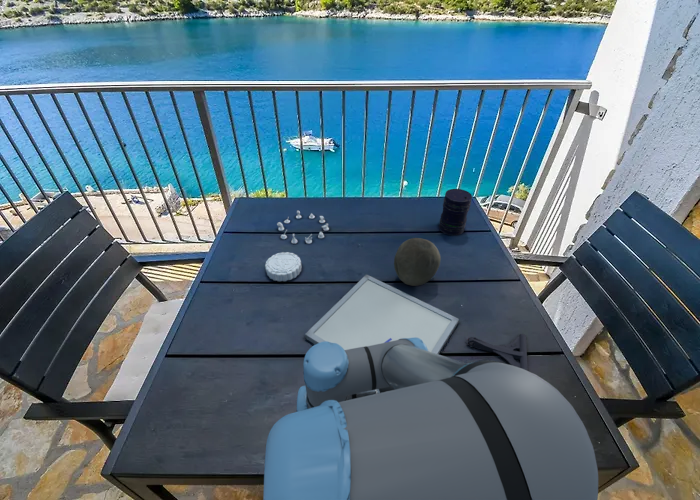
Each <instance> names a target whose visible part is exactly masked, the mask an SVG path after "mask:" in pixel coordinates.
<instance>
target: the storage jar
mask: <svg viewBox="0 0 700 500" xmlns="http://www.w3.org/2000/svg"><path fill="white" fill-rule="evenodd" d="M472 199H473V195H472V194H471V193H470V192H469V191H467V190H466V189H461V188H450V189H447V190H446V191H445V193H444V198H443V203H442V212H441V215H440V217H439V225H438V229H439V230H440V231H441V232H442V233H443V234H445V235H448V236H459V235H462V234H464V231H465V228H466V225H467V219H468V218H467V217H468V213H469V211H470V209H471V204H472Z"/></svg>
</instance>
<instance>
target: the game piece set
mask: <svg viewBox="0 0 700 500" xmlns="http://www.w3.org/2000/svg"><path fill="white" fill-rule="evenodd" d="M296 214H297V215H296V216H295V218H296V219H297V220H299V219H302V215H301V212H300V210H296ZM308 218H309V219H312V220H313V219H315V218H316V216H315V215H314V214H313V213H312V212H311V213H310V215H309V216H308ZM319 218H320V219H319V221H318V222H319V224H324V223H325V222H326V220H325V217H324V216H323V215H319ZM290 222H291V220H289V216H287V219H285V220H284V221H283V222H281V221H279V222H277V223H276V225H277V227H278V231H279V232H282V231H284V230H285V231H284V233H283V234H281V235H280V239H281V240H285V239H287V238H288V236H287V235H286V233H287V231H288V229H285V227H284V225H283V223H284V224H290ZM321 228H322V230H323V231H326V232H327V231H329V230H330V227H329V223H325V224H324V225H322V226H321ZM291 236H292V238H291V242H290V243H291V244H294V245H295V244H297V243H298V239H297V238H296V237H295V233H292V235H291ZM312 236H313V234H312V233H311V234H310V235H309V236H308V237H305V236H304V241H305V243H306V244H308V245H309V244H312V243H313V240H312V239H313V237H312ZM317 238H318V239H324V238H325V235H324V233H323V232H322V231H319V233H318V236H317Z"/></svg>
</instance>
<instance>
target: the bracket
mask: <svg viewBox="0 0 700 500" xmlns="http://www.w3.org/2000/svg"><path fill="white" fill-rule="evenodd" d="M467 344H468V346H470V347H471V348H475V349H479V350H482V351H486V352H490V353H493V354H496V355H498V356H499V357H501V358H502V359H504V360H505V361H506V362H507V364H508V365H512V366H515V367H519V368H522V369H524V370H526V371H529V370H528V350H527V349H528V348H527V335H526V334H525V333H520V334H519V335H518V336H517V337H516V338H515V339H514V340H513V341H511V342H510V343H508V344H502V345H498V344H492V343H489V342H488V341H487V342H486V341H484V340H482V339H480V338H477V337H476V336H470V337H468V339H467ZM518 350H519V351H518ZM516 360H519V362H518V361H516Z"/></svg>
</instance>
